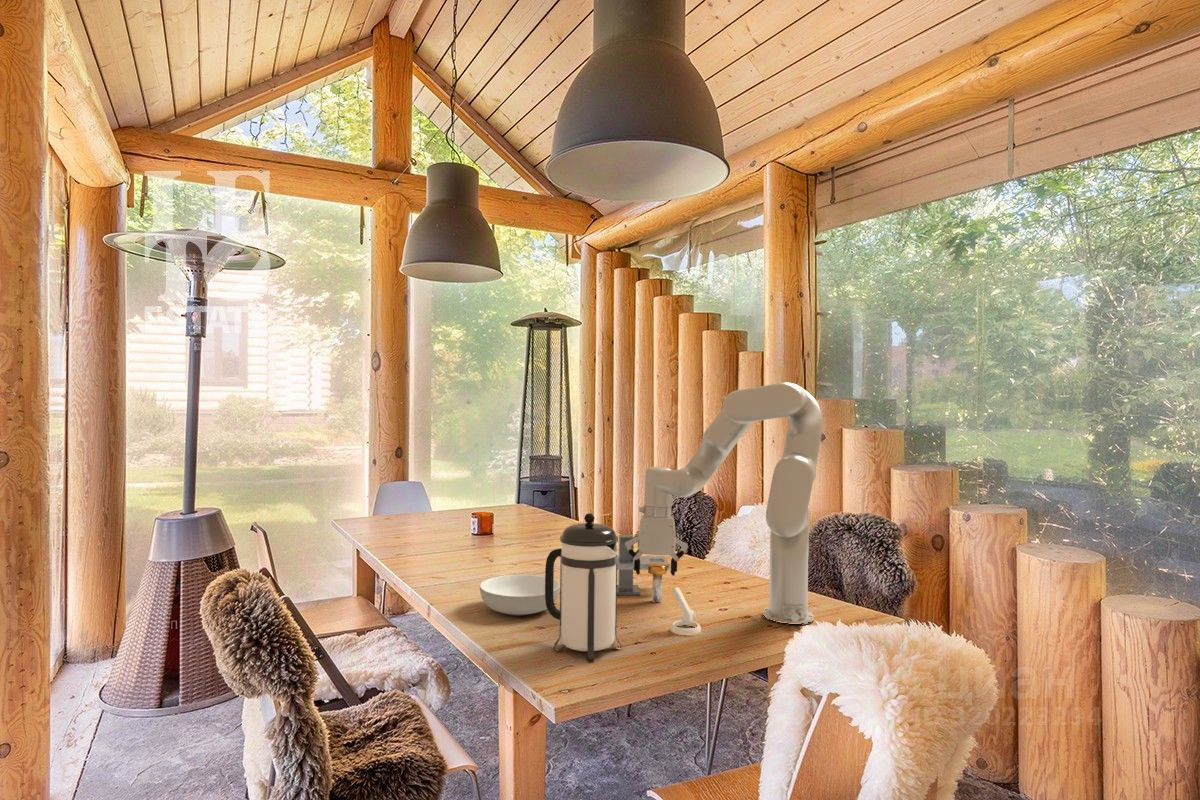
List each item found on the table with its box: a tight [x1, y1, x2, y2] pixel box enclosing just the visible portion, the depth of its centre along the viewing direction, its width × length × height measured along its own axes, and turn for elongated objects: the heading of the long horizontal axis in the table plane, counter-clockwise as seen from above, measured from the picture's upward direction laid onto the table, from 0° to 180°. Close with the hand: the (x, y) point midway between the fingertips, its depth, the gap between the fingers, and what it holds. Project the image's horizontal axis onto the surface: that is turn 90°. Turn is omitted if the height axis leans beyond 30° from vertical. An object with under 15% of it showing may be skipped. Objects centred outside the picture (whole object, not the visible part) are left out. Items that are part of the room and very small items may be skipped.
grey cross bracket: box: [617, 534, 670, 596], centre depth 196 cm, size 10×16×16 cm, turn 92°
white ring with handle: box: [669, 586, 702, 634], centre depth 164 cm, size 8×12×7 cm
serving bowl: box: [479, 574, 560, 616], centre depth 177 cm, size 21×21×7 cm
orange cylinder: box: [647, 563, 668, 603], centre depth 186 cm, size 5×5×10 cm
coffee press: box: [544, 512, 623, 662], centre depth 150 cm, size 17×16×30 cm
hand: (655, 573), depth 186 cm, fingers open, 9 cm apart
